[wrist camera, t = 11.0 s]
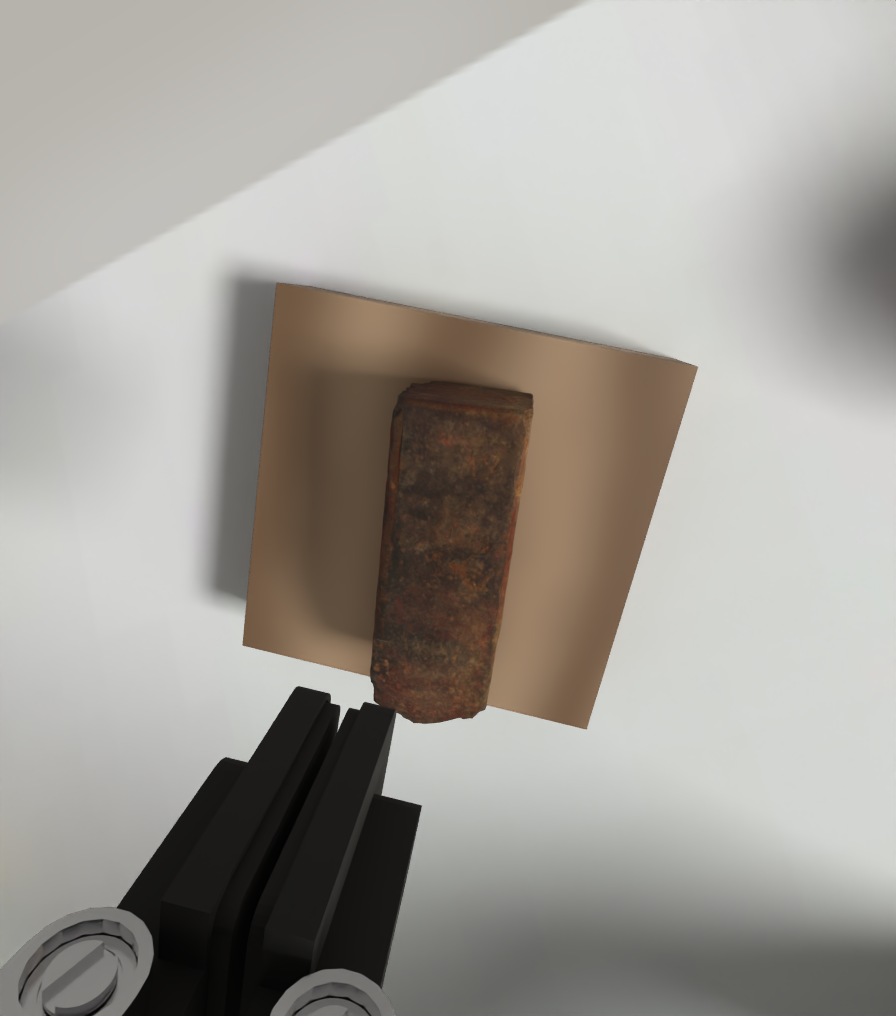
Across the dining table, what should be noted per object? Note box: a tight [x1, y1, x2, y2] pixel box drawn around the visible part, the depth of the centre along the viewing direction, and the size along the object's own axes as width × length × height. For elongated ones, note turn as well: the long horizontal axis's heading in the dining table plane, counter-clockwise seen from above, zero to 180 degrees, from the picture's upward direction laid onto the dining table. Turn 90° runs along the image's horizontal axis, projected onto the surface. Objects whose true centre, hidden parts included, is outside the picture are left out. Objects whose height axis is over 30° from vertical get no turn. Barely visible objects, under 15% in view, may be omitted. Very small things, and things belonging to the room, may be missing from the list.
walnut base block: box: [243, 283, 698, 729], centre depth 25 cm, size 14×14×4 cm
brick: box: [370, 381, 534, 724], centre depth 21 cm, size 11×4×5 cm, turn 173°
